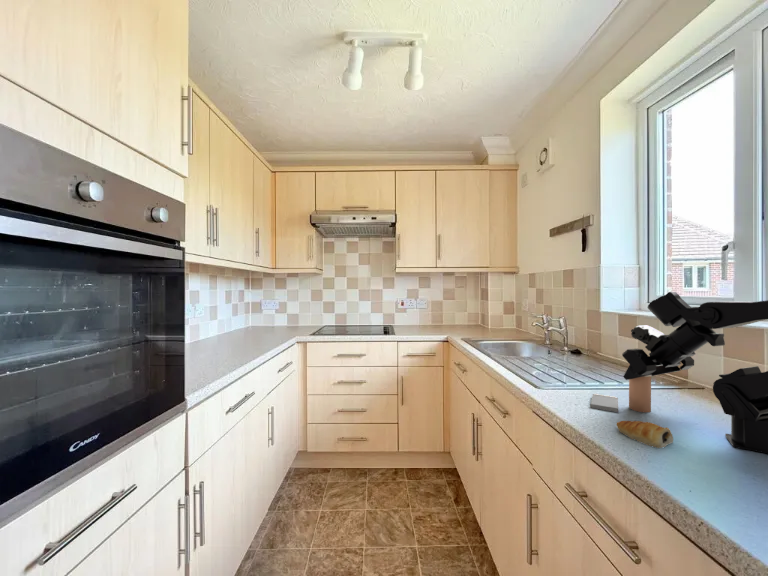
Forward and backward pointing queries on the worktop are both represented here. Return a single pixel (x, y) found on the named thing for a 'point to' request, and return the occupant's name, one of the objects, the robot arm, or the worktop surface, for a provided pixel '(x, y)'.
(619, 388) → the worktop surface
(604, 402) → the pad
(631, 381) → the stub
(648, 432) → the pastry
